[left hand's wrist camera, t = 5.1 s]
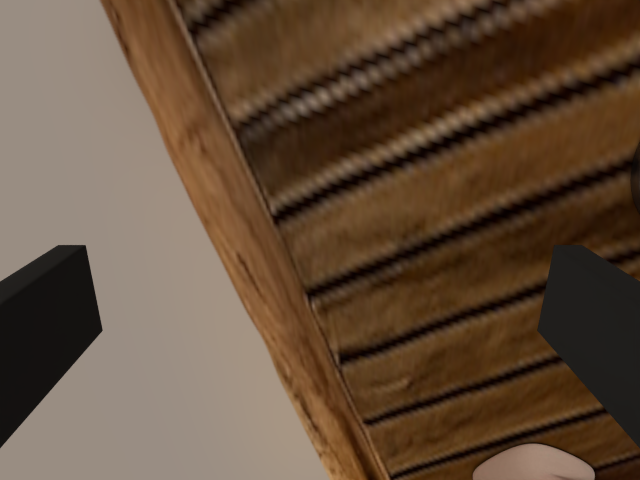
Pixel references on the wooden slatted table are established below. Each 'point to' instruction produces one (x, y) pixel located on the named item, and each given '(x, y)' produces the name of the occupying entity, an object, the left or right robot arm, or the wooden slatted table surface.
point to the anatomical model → (533, 465)
